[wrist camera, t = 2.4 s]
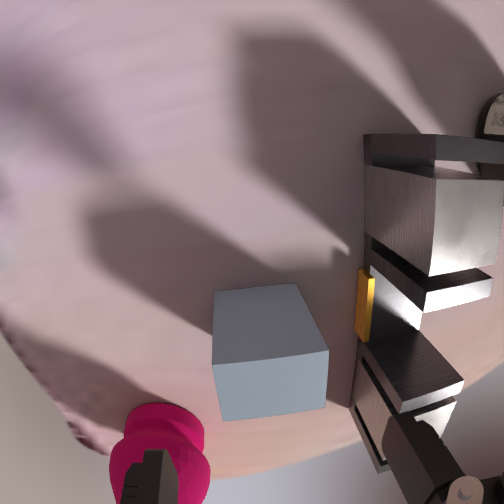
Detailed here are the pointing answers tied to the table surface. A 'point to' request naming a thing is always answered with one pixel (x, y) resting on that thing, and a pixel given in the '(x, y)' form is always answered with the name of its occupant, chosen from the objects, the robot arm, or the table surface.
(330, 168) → the table surface
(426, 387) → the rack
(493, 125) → the ink bottle
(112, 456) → the pepper mill
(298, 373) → the light grey block
